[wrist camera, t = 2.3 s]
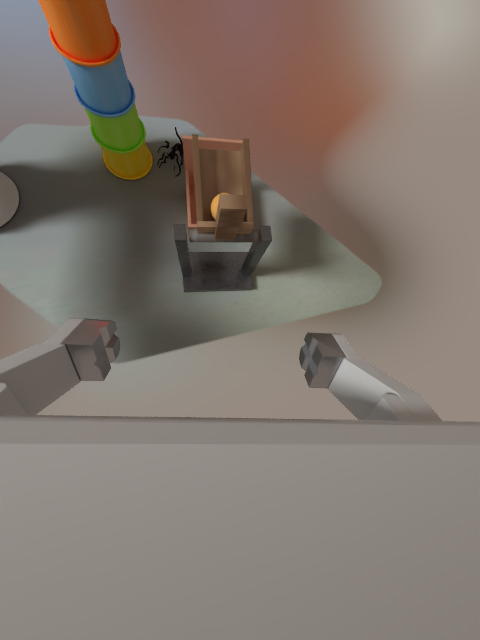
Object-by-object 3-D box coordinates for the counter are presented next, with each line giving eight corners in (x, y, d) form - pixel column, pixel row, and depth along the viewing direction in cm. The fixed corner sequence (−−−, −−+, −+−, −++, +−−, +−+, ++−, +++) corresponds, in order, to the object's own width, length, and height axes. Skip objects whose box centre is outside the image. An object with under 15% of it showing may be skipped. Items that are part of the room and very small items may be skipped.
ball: (211, 229, 34) (212, 213, 30) (209, 204, 34) (210, 185, 30) (237, 229, 34) (242, 213, 30) (235, 205, 35) (239, 186, 31)
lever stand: (184, 292, 49) (175, 259, 32) (182, 255, 50) (173, 205, 33) (250, 290, 51) (273, 258, 35) (247, 254, 52) (268, 208, 36)
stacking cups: (156, 146, 53) (77, -223, 19) (148, 185, 51) (46, -147, 17) (109, 135, 51) (-66, -287, 18) (100, 174, 50) (-116, -212, 16)
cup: (189, 241, 51) (185, 203, 38) (186, 188, 52) (182, 135, 40) (238, 242, 53) (250, 205, 40) (234, 190, 54) (244, 140, 42)
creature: (170, 184, 53) (198, 165, 53) (162, 168, 48) (193, 147, 48) (151, 158, 54) (179, 139, 54) (141, 139, 48) (172, 118, 48)
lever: (190, 243, 35) (186, 208, 24) (185, 155, 35) (178, 81, 24) (255, 243, 37) (278, 211, 26) (250, 160, 37) (271, 92, 26)
